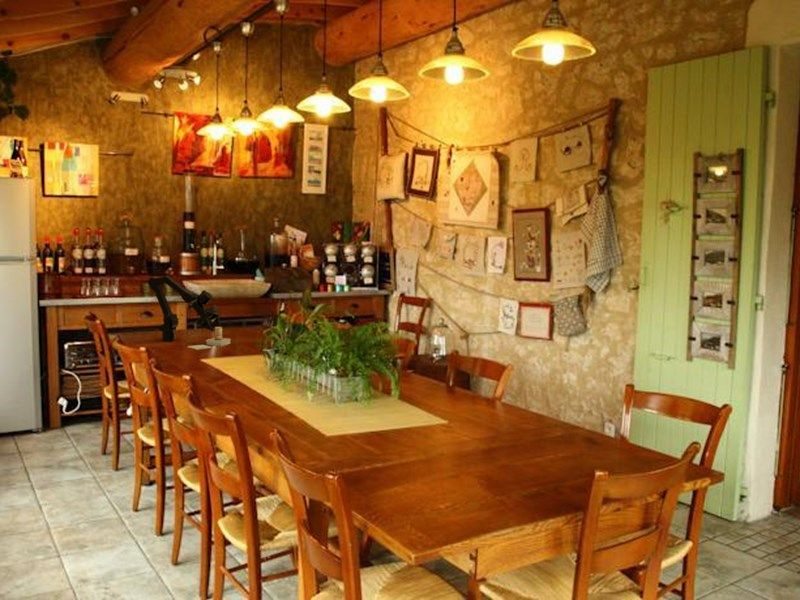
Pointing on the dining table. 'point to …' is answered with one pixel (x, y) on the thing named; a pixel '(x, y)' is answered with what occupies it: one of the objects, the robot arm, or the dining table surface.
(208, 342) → the collar
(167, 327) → the robot arm
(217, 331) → the post
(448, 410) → the dining table surface
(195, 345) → the pad
